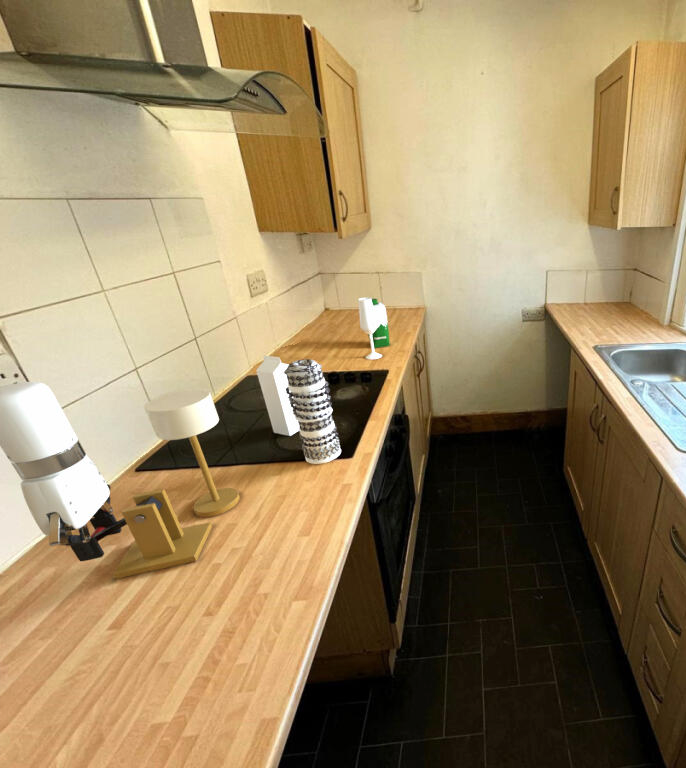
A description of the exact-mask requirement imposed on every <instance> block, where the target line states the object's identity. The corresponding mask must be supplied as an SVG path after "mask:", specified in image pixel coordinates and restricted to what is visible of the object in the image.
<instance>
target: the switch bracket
mask: <svg viewBox="0 0 686 768" xmlns="http://www.w3.org/2000/svg"><path fill="white" fill-rule="evenodd" d="M151 496H152V497H154V498H155V499H156V500H158V501H159V502H160V503H161V504H163V505H162V506H161V508H160V509H159V511H158V509H157V507H156V505H155V503H153V504H147V505H142V506H131V507H125V508H123V509H122V510H121V515H122V517H123V518H124V519H125V521H126V523H127V525H126V526H127V527H128V528H129V529H128V530H129V531H130V533H131V535H132V537H133V539H134V542H133V543H132V544H131V546H130V548H129V549H128V551H127V552H126V554H125V555H124V556H123V558H122V559H121V561H120V563H119V564H118V565H117V567H116V568H115V570H114V572H113V573H112V575H113V577H114V579H115V580H116V579H121V578H125V577H130V576H135V575H140V574H144V573H149V572H152V571H157V570H162V569H165V568H170V567H175V566H180V565H184V564H188V563H193V562H196V561H197V560H198V558H199V556H200V555H201V552H202V550H203V547H204V546H205V543H206V542H207V539H208V537H209V534H210V533H211V530H212V528H213V526H212V523H211V522H206V523H201V524H196V525H191V526H186V527H181V524H180V522H179V520H178V517H177V515H176V512H175V510H174V508H173V505H172V504H171V503H172V502H171V500H170V499H169V496H168V494H167V492H166V490H165V488H162V489H156V490H152V491H151V490H150V491H146V492H140V493H134V495H133V496H132V500H133V501H134V503H135V505H137V504H139V503H141V502H142V501H144V500H146V499H148V498H149V497H151Z"/></svg>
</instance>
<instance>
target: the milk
mask: <svg viewBox="0 0 686 768" xmlns="http://www.w3.org/2000/svg"><path fill="white" fill-rule="evenodd" d="M262 358H263V361H262V362H261V364H260V365H259V366H258V367H257V369H256V370H255V371H256V375H257V379H258V383H259V385H260V388H261V392H262V395H263V399H264V402H265V407H266V410H267V413H268V417H269V421H270V424H271V428H272V432H273V433H274V434H279V435H283V436H288V437H292V436H293V435H294V434H296V433H297V432H300V431H299V423H298V421H297V420H296V419H295V415H294V414H293V411H292V410H293V408H292V407H291V406H290V405H291V404H290V401H289V399H288V396H289V394H287V393H286V388H287V387H288V380H287V376H286V374H284V371H285V369H287V367H288V365H289V364H290V363H289V364H288V363H284V362H282V360H281V358H280V357H278V356H272V355H262ZM289 391H290V390H289ZM292 398H293V397H292ZM293 405H294V404H293ZM294 406H295V405H294Z"/></svg>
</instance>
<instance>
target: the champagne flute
mask: <svg viewBox="0 0 686 768" xmlns="http://www.w3.org/2000/svg"><path fill="white" fill-rule="evenodd" d="M371 299H372V297H361V298H358V300H357V301H358V314H359V326H360V327H359V328H360V329H361V331H362V332H364V333H365V334H367V335H368V334H369V337H368V339H369V338H370V340H369V343H370V350H371V351H370V353H369V354H368V355H366V356H365V359H367V360H377V359H381V358H382V357H383V354H381V353H378V352H376V351H375V348H374V344H373V338H372V334H373V333H374V332H375V330H376V329H377V327H378V324H377V320H376V316H375V312H374V308H373V304H372V300H371Z"/></svg>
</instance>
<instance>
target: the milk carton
mask: <svg viewBox="0 0 686 768" xmlns="http://www.w3.org/2000/svg"><path fill="white" fill-rule="evenodd" d="M371 300H372V304H373V308H374V312H375V316H376V320H377V324H378V327H377V329H376V330H375V332H374V333H373V334H372V338H373V344H374V349H377V348H385V347H390V331H389V323H388V315H387V309H386V305H385V304H384V303H383V302H378V298H371ZM367 336H368V340H369V341H370V338H369V334H367Z"/></svg>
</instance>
